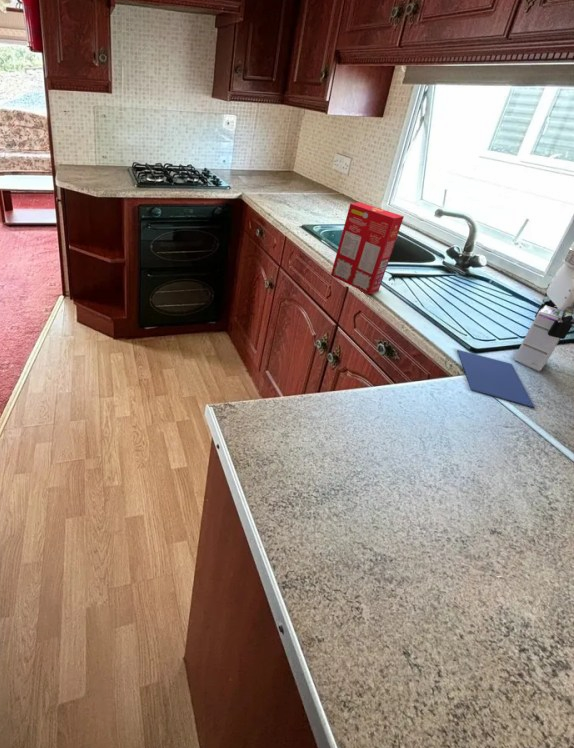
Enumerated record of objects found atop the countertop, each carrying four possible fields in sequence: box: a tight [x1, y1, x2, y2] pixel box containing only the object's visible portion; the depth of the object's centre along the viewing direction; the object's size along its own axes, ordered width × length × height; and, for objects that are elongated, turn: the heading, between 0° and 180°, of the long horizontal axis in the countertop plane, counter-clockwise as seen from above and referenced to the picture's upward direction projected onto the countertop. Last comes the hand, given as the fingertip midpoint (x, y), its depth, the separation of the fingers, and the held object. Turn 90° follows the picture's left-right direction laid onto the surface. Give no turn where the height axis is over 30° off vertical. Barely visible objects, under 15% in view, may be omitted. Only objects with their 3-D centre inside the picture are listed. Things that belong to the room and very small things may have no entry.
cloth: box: [457, 349, 535, 409], centre depth 94 cm, size 12×16×1 cm
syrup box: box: [513, 305, 571, 372], centre depth 98 cm, size 6×6×14 cm
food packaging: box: [330, 201, 404, 295], centre depth 127 cm, size 15×5×25 cm, turn 37°
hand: (548, 327), depth 97 cm, fingers closed on syrup box, 7 cm apart
